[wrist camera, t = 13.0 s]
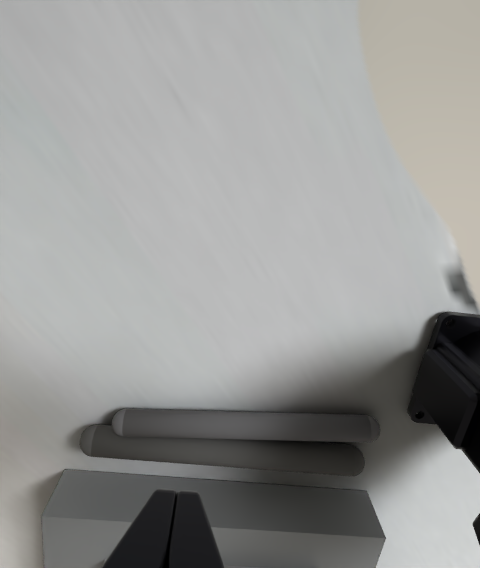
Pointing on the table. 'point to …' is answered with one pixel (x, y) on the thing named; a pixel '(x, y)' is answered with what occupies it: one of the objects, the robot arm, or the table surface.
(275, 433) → the grey thin rod
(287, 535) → the grey tray
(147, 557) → the robot arm
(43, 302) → the table surface
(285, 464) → the grey rounded rod
